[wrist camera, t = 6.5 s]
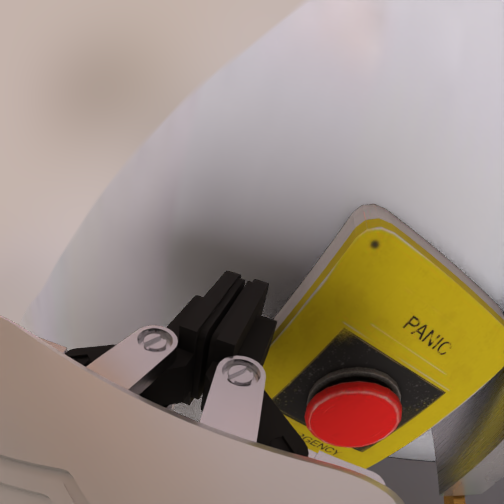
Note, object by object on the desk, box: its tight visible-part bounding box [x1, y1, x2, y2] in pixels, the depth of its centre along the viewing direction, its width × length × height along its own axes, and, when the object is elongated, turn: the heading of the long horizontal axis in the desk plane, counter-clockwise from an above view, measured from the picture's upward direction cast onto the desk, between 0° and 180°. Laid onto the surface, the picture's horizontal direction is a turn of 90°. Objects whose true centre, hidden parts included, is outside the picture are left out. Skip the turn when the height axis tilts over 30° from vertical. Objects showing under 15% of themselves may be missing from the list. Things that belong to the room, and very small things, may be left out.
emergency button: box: [263, 204, 504, 469], centre depth 12 cm, size 9×4×15 cm
